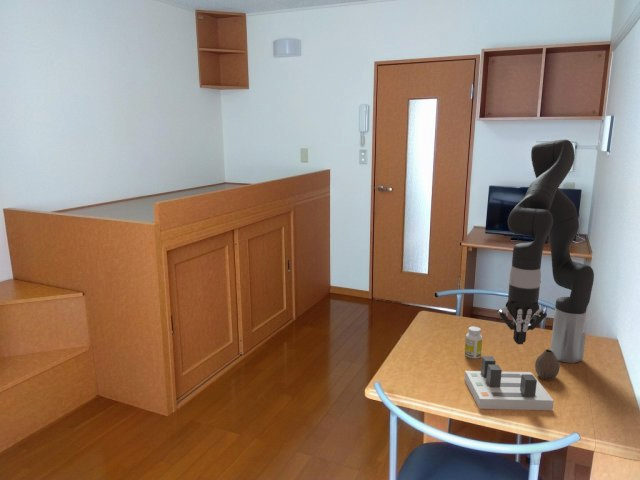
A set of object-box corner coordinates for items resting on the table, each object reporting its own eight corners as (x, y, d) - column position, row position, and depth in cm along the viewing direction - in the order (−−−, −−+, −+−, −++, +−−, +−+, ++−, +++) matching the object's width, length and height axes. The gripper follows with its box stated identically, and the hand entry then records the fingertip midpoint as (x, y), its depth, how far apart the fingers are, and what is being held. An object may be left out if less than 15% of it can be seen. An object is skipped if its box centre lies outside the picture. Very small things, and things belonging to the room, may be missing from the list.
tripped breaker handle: (530, 390, 137) (532, 374, 136) (535, 396, 134) (536, 380, 133) (519, 390, 138) (521, 374, 136) (524, 396, 134) (525, 380, 133)
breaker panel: (530, 381, 150) (532, 355, 148) (552, 410, 134) (556, 382, 132) (464, 379, 150) (466, 354, 148) (479, 408, 135) (481, 380, 133)
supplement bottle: (479, 352, 169) (481, 325, 167) (482, 359, 164) (484, 332, 162) (463, 351, 170) (465, 325, 167) (466, 358, 164) (468, 331, 162)
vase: (556, 373, 154) (559, 347, 153) (559, 383, 148) (562, 357, 146) (533, 370, 157) (535, 344, 155) (534, 380, 150) (537, 354, 148)
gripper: (544, 278, 132) (538, 337, 136) (494, 278, 133) (490, 337, 137) (556, 287, 125) (549, 349, 129) (503, 287, 126) (498, 349, 130)
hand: (518, 343), depth 133 cm, fingers closed
